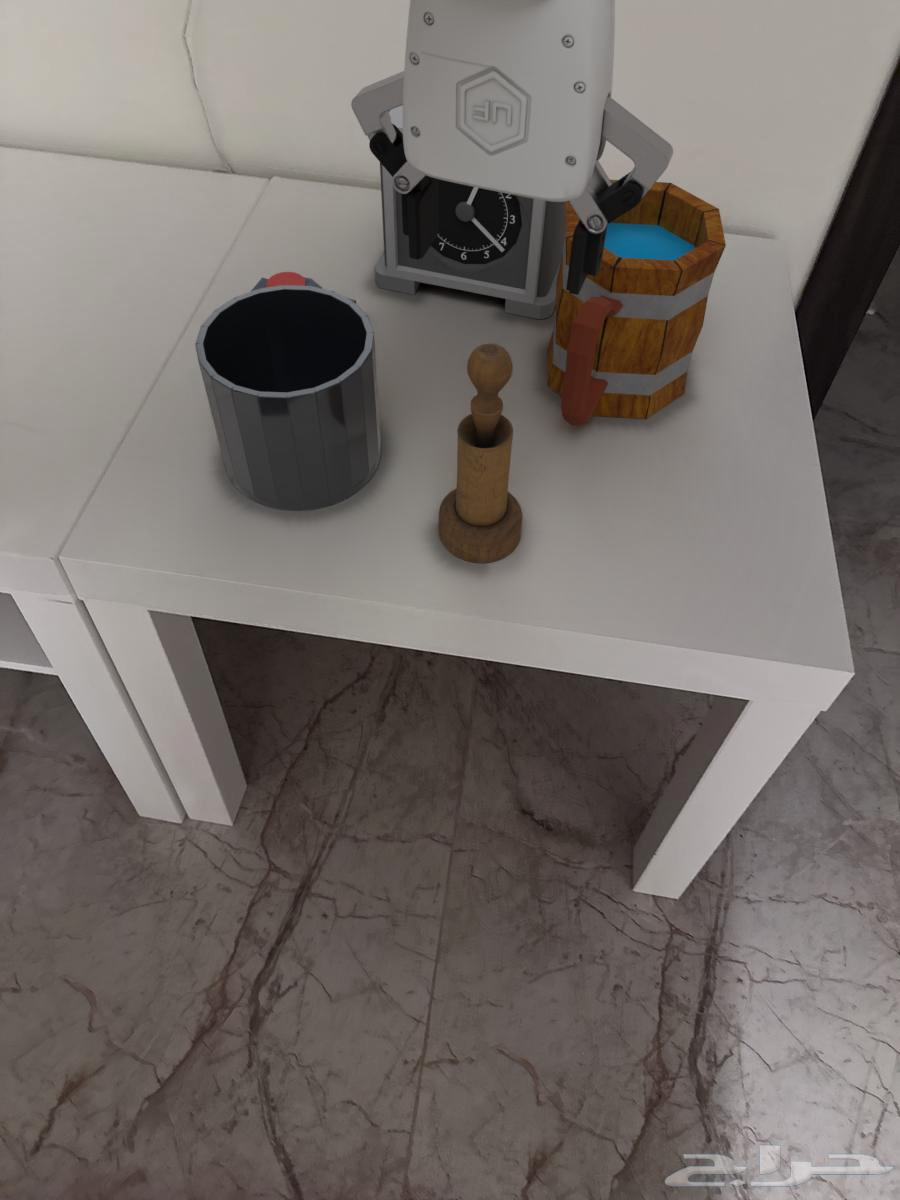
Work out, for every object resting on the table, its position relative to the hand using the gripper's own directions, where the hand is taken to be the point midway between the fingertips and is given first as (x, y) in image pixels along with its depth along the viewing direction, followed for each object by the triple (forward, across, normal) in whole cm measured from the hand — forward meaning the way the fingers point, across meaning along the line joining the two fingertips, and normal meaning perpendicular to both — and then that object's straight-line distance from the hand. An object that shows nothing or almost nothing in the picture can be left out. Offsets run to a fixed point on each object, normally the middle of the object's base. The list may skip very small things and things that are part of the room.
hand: (500, 263), depth 55 cm
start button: (+21, -25, +17) cm, 37 cm away
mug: (+24, +5, +20) cm, 32 cm away
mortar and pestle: (+24, 0, 0) cm, 24 cm away
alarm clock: (+24, -12, +34) cm, 43 cm away
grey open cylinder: (+24, -17, +3) cm, 30 cm away
